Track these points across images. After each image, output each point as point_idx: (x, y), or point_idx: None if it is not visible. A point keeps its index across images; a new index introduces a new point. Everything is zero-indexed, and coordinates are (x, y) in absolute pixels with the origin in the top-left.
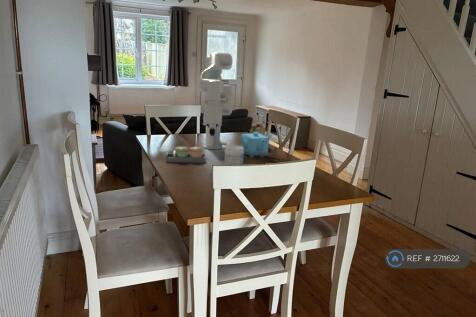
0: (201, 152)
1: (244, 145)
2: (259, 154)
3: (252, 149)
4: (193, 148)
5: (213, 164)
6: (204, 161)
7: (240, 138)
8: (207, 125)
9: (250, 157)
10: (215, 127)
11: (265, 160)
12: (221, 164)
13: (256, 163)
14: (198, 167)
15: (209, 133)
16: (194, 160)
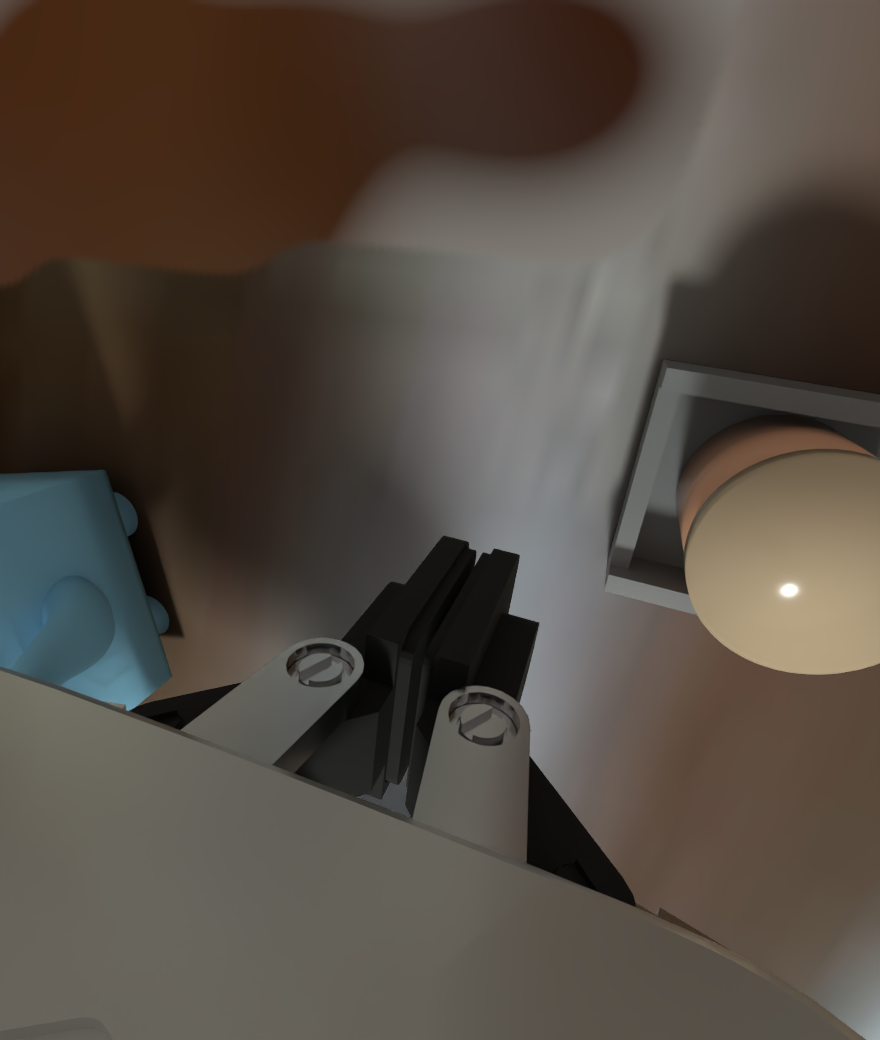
0: (715, 480)
1: (80, 595)
2: (21, 474)
3: (26, 491)
4: (877, 566)
5: (569, 289)
6: (682, 364)
7: (47, 672)
8: (598, 873)
9: (125, 500)
10: (275, 667)
11: (9, 379)
12: (463, 277)
13: (86, 278)
14: (866, 136)
15: (533, 647)
16: (846, 393)
